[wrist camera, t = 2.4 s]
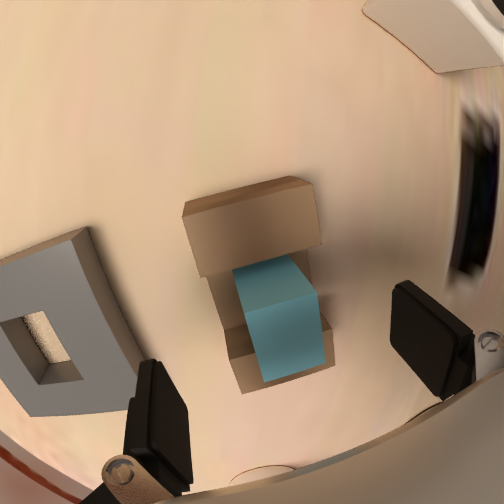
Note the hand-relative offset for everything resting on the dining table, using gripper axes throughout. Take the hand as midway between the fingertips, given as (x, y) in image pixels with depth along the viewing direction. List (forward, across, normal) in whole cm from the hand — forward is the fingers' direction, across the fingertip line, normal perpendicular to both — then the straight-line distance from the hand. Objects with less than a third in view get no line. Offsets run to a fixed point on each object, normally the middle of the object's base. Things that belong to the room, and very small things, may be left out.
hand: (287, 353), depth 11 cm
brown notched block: (+8, 0, +1) cm, 8 cm away
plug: (+7, 0, +1) cm, 7 cm away
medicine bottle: (+8, -16, -15) cm, 23 cm away
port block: (+8, +14, +1) cm, 17 cm away
